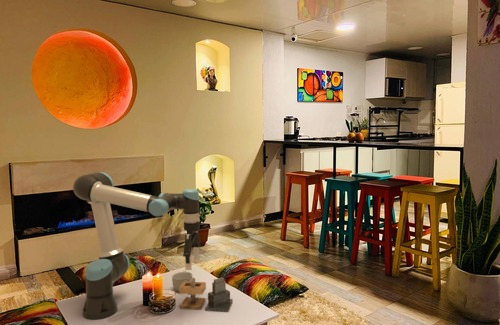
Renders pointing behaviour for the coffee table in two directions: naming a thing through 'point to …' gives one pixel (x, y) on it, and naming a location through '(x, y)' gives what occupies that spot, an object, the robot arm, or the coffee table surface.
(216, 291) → the grey stepped block
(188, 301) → the stand
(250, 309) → the coffee table surface
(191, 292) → the brown wooden block
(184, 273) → the teacup
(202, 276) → the coffee table surface
